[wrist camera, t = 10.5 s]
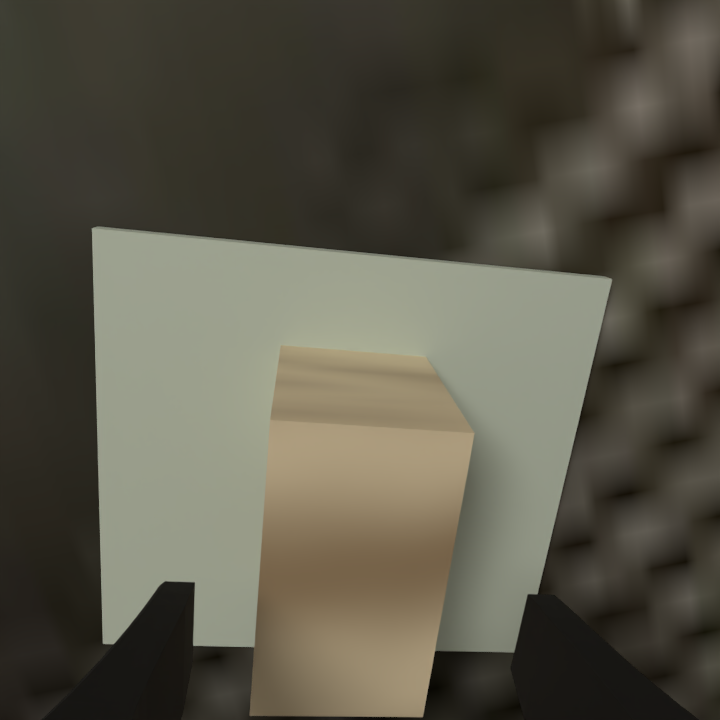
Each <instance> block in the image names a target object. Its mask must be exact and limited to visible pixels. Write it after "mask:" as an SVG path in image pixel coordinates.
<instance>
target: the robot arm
mask: <svg viewBox="0 0 720 720" xmlns="http://www.w3.org/2000/svg"><path fill="white" fill-rule="evenodd" d="M194 597H195V582H172V581H165V582H163V583H162V584H161V585H160V586H159V587H158V588H157V590H156V591H155V593H154V594H153V595H152V597H151V598H150V600H149V601H148V602H147V604H146V605H145V606H144V608H143V609H142V610H141V612H140V613H139V614H138V615H137V617H136V618H135V619H134V620H133V622H132V623H131V624H130V625H129V627H128V628H127V629H126V630H125V632H124V633H123V634H122V635H121V636H120V637H119V639H118V640H117V641H116V642H115V643H114V645H113V646H112V647H111V648H110V649H109V650H108V652H107V653H106V654H105V655H104V656H103V657H102V659H101V660H100V661H99V662H98V663H97V664H96V665H95V666H94V667H93V668H92V669H91V670H90V671H89V672H88V674H87V675H86V676H85V677H84V678H83V679H82V680H81V681H80V682H79V683H78V684H77V685H76V686H75V687H74V688H73V689H72V690H71V692H70V693H69V694H68V695H67V696H66V697H65V698H64V699H63V700H62V701H61V702H59V703H58V704H57V705H56V706H55V707H54V708H53V709H52V710H51V711H50V712H49V713H48V714H47V715H46V716H45V717H44V718H43V719H42V720H181V717H182V713H183V709H184V704H185V699H186V694H187V689H188V683H189V678H190V672H191V667H192V662H193V631H194ZM511 671H512V675H513V679H514V683H515V687H516V691H517V695H518V698H519V702H520V705H521V709H522V712H523V716H524V718H525V720H699V719H697V718H696V717H695V716H693V715H692V714H691V713H690V712H688V711H687V710H686V709H684V708H683V707H682V706H680V705H679V704H678V703H677V702H676V701H674V700H673V699H672V698H671V697H669V696H668V695H667V694H666V693H664V692H663V691H662V690H661V689H660V688H658V687H657V686H656V685H655V684H653V683H652V682H651V681H650V680H649V679H648V678H646V677H645V676H644V675H643V674H642V673H640V672H639V671H638V670H637V669H636V668H635V667H634V666H632V665H631V664H630V663H629V662H628V661H627V660H626V659H624V658H623V657H622V656H621V655H620V654H619V653H618V652H617V651H616V650H614V649H613V648H612V647H611V646H610V645H609V644H608V643H607V642H606V641H605V640H603V639H602V638H601V637H600V636H599V635H598V634H597V633H596V632H595V631H594V630H593V629H591V628H590V627H589V626H588V625H587V624H586V623H585V622H584V621H583V620H582V619H581V618H580V617H578V616H577V615H576V614H575V613H574V612H573V611H572V610H571V609H570V608H569V607H567V606H566V605H565V604H564V603H563V602H562V601H561V600H559V599H558V598H557V597H556V596H555V595H540V594H528V595H527V599H526V604H525V608H524V612H523V617H522V621H521V625H520V629H519V634H518V638H517V642H516V647H515V651H514V655H513V660H512V664H511Z"/></svg>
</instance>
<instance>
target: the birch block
mask: <svg viewBox="0 0 720 720" xmlns="http://www.w3.org/2000/svg"><path fill="white" fill-rule="evenodd" d="M474 434H475V433H474V431H473V430H472V428H471V427H470V425H469V424H468V422H467V420H466V419H465V417H464V416H463V414H462V413H461V411H460V409H459V408H458V406H457V405H456V403H455V402H454V400H453V398H452V397H451V395H450V394H449V392H448V391H447V389H446V387H445V386H444V384H443V383H442V381H441V380H440V378H439V376H438V375H437V373H436V372H435V370H434V369H433V367H432V365H431V364H430V362H429V361H428V359H427V358H426V357H423V356H411V355H398V354H386V353H373V352H361V351H348V350H336V349H323V348H311V347H298V346H286V345H281V347H280V354H279V361H278V368H277V375H276V382H275V389H274V396H273V403H272V410H271V417H270V428H269V442H268V457H267V471H266V486H265V500H264V515H263V529H262V544H261V558H260V573H259V587H258V602H257V616H256V631H255V645H254V660H253V674H252V689H251V703H250V716H340V717H423V714H424V708H425V703H426V697H427V692H428V686H429V681H430V675H431V670H432V665H433V659H434V654H435V648H436V643H437V637H438V632H439V626H440V621H441V615H442V610H443V604H444V599H445V593H446V588H447V582H448V577H449V571H450V566H451V560H452V555H453V549H454V544H455V538H456V533H457V527H458V522H459V516H460V511H461V505H462V500H463V494H464V489H465V483H466V478H467V473H468V467H469V462H470V456H471V451H472V445H473V440H474Z"/></svg>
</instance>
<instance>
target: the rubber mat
mask: <svg viewBox="0 0 720 720" xmlns="http://www.w3.org/2000/svg"><path fill="white" fill-rule="evenodd" d="M92 243H93V281H94V319H95V358H96V396H97V434H98V472H99V510H100V549H101V587H102V625H103V644H114V643H115V642H116V641H117V640H118V639H119V637H120V636H121V635H122V634H123V633H124V632H125V630H126V629H127V628H128V627H129V625H130V624H131V623H132V622H133V620H134V619H135V618H136V617H137V615H138V614H139V613H140V612H141V610H142V609H143V608H144V606H145V605H146V604H147V602H148V601H149V600H150V598H151V597H152V595H153V594H154V593H155V591H156V590H157V588H158V587H159V586H160V585H161V584H162V583H163V582H165V581H172V582H195V597H194V631H193V646H231V647H254V645H255V631H256V616H257V602H258V587H259V573H260V558H261V544H262V529H263V515H264V500H265V486H266V471H267V457H268V442H269V428H270V417H271V410H272V403H273V396H274V389H275V382H276V375H277V368H278V361H279V354H280V347H281V345H286V346H298V347H311V348H323V349H336V350H348V351H361V352H373V353H386V354H398V355H411V356H423V357H426V358H427V359H428V361H429V362H430V364H431V365H432V367H433V369H434V370H435V372H436V373H437V375H438V376H439V378H440V380H441V381H442V383H443V384H444V386H445V387H446V389H447V391H448V392H449V394H450V395H451V397H452V398H453V400H454V402H455V403H456V405H457V406H458V408H459V409H460V411H461V413H462V414H463V416H464V417H465V419H466V420H467V422H468V424H469V425H470V427H471V428H472V430H473V431H474V433H475V434H474V440H473V445H472V451H471V456H470V462H469V467H468V473H467V478H466V483H465V489H464V494H463V500H462V505H461V511H460V516H459V522H458V527H457V533H456V538H455V544H454V549H453V555H452V560H451V566H450V571H449V577H448V582H447V588H446V593H445V599H444V604H443V610H442V615H441V621H440V626H439V632H438V637H437V643H436V648H435V651H471V652H514V651H515V647H516V642H517V638H518V634H519V629H520V625H521V621H522V617H523V612H524V608H525V604H526V599H527V595H528V594H538V590H539V586H540V581H541V577H542V573H543V569H544V565H545V560H546V556H547V552H548V548H549V544H550V539H551V535H552V531H553V527H554V522H555V518H556V514H557V510H558V506H559V501H560V497H561V493H562V489H563V485H564V480H565V476H566V472H567V468H568V464H569V459H570V455H571V451H572V447H573V442H574V438H575V434H576V430H577V426H578V421H579V417H580V413H581V409H582V405H583V400H584V396H585V392H586V388H587V383H588V379H589V375H590V371H591V367H592V362H593V358H594V354H595V350H596V346H597V341H598V337H599V333H600V329H601V324H602V320H603V316H604V312H605V308H606V303H607V299H608V295H609V291H610V287H611V282H612V279H610V278H607V277H604V276H595V275H585V274H575V273H564V272H554V271H544V270H534V269H524V268H514V267H504V266H493V265H483V264H473V263H463V262H453V261H443V260H433V259H423V258H412V257H402V256H392V255H382V254H372V253H362V252H352V251H341V250H331V249H321V248H311V247H301V246H291V245H281V244H270V243H260V242H250V241H240V240H230V239H220V238H210V237H199V236H189V235H179V234H169V233H159V232H149V231H139V230H128V229H118V228H108V227H95V228H92Z"/></svg>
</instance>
